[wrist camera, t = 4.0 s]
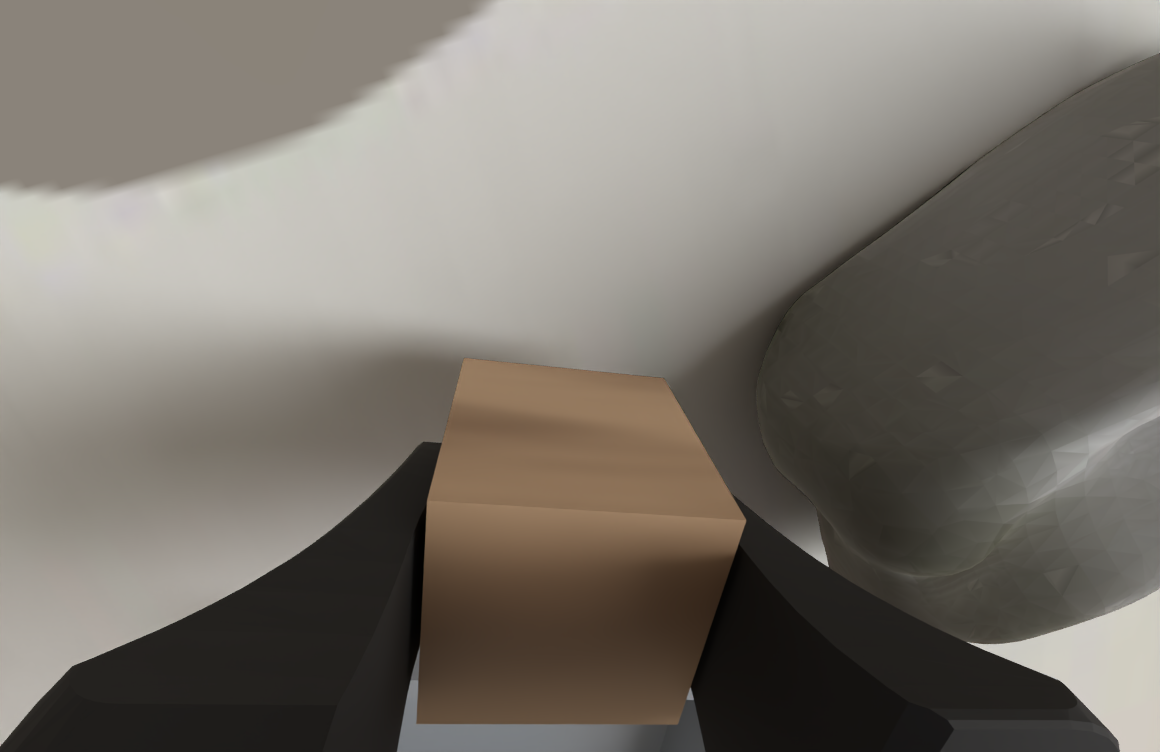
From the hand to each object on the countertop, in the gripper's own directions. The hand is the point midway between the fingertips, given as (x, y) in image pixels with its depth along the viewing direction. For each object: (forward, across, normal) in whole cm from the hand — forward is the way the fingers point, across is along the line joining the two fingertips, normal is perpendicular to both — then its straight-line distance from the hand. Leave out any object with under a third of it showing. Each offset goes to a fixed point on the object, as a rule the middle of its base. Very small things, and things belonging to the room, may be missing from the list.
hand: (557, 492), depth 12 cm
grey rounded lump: (+6, -14, -4) cm, 16 cm away
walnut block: (+2, 0, 0) cm, 2 cm away
